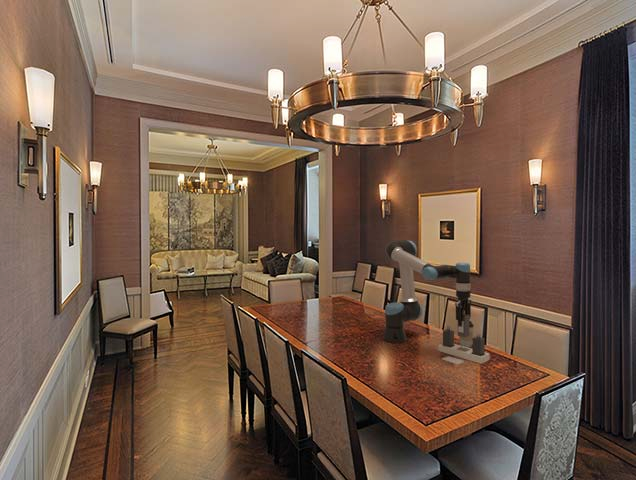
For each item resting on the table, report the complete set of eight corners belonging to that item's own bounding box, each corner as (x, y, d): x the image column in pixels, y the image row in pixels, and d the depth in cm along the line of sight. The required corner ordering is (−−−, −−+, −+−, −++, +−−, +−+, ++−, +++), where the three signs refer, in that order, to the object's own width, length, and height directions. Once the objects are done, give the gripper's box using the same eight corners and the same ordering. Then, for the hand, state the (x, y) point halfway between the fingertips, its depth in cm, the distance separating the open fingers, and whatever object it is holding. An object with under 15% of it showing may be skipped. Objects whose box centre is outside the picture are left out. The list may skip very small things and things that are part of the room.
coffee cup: (464, 348, 212) (464, 324, 211) (454, 343, 220) (454, 320, 220) (476, 347, 214) (477, 322, 214) (466, 342, 223) (467, 319, 222)
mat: (441, 359, 195) (441, 359, 195) (448, 356, 199) (448, 355, 199) (458, 365, 187) (458, 364, 187) (464, 361, 192) (464, 361, 192)
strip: (438, 351, 207) (438, 326, 206) (446, 348, 213) (446, 323, 212) (481, 365, 187) (481, 337, 186) (489, 360, 193) (489, 333, 192)
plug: (465, 337, 196) (465, 311, 195) (457, 335, 199) (457, 310, 199) (469, 335, 199) (469, 310, 198) (461, 334, 202) (461, 309, 202)
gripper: (461, 293, 190) (461, 335, 191) (477, 289, 201) (477, 329, 202) (448, 291, 196) (448, 332, 196) (464, 287, 207) (465, 326, 207)
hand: (463, 331), depth 199 cm, fingers closed on plug, 4 cm apart
